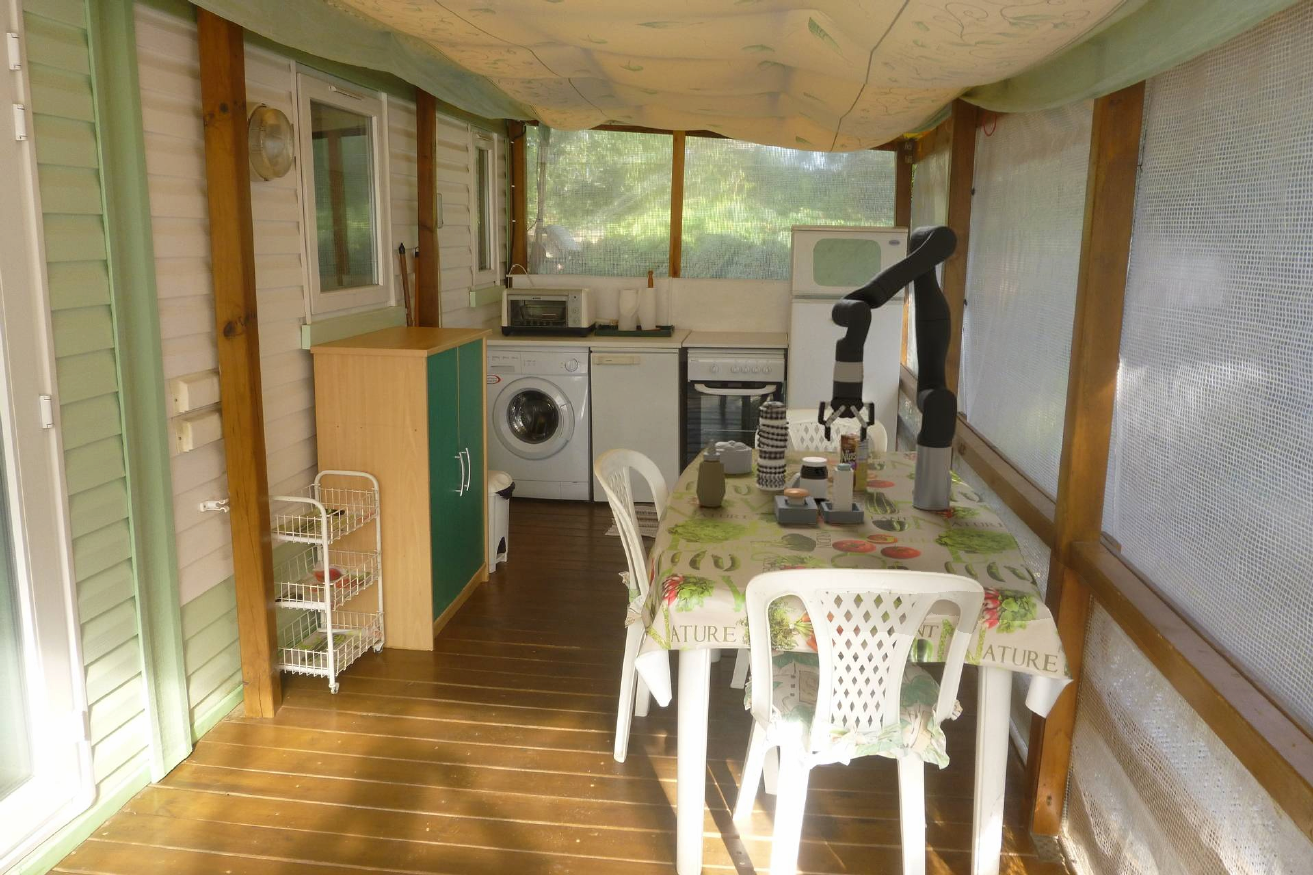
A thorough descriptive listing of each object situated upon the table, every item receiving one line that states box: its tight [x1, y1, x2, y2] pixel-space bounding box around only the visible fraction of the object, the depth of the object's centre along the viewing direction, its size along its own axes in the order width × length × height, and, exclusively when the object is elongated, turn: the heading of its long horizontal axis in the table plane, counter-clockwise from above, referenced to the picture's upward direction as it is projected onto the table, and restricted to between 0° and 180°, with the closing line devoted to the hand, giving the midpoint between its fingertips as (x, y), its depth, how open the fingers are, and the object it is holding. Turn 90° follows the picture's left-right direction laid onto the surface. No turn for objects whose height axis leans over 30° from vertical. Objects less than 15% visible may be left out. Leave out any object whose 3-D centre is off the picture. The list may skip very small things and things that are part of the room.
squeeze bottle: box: [695, 439, 727, 508], centre depth 281 cm, size 8×8×18 cm
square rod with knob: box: [831, 462, 854, 511], centre depth 270 cm, size 4×4×14 cm
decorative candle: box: [755, 401, 790, 492], centre depth 301 cm, size 9×9×25 cm
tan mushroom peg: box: [783, 488, 809, 505], centre depth 271 cm, size 6×6×6 cm
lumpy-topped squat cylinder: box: [715, 440, 753, 475], centre depth 324 cm, size 10×13×9 cm
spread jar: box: [786, 456, 829, 504], centre depth 289 cm, size 12×11×12 cm
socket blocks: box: [773, 495, 865, 525], centre depth 271 cm, size 22×13×4 cm, turn 88°
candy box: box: [839, 433, 870, 492], centre depth 303 cm, size 9×4×15 cm, turn 23°
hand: (844, 441), depth 267 cm, fingers open, 8 cm apart
